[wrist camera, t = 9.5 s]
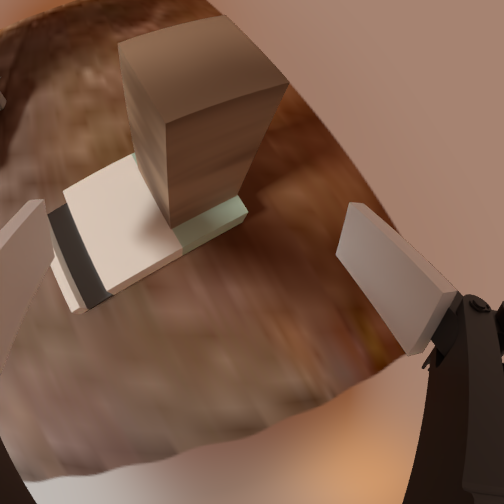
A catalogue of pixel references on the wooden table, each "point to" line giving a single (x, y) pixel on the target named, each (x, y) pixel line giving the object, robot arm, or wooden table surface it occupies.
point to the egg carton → (2, 101)
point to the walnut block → (197, 111)
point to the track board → (122, 234)
